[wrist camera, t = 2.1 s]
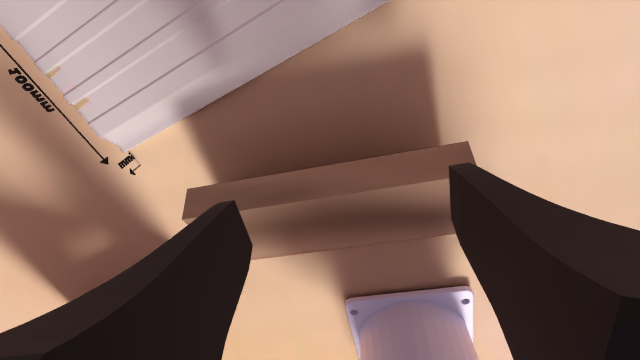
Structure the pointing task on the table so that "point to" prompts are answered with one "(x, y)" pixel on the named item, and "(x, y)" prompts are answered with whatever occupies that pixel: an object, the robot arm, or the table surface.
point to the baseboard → (161, 53)
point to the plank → (342, 202)
